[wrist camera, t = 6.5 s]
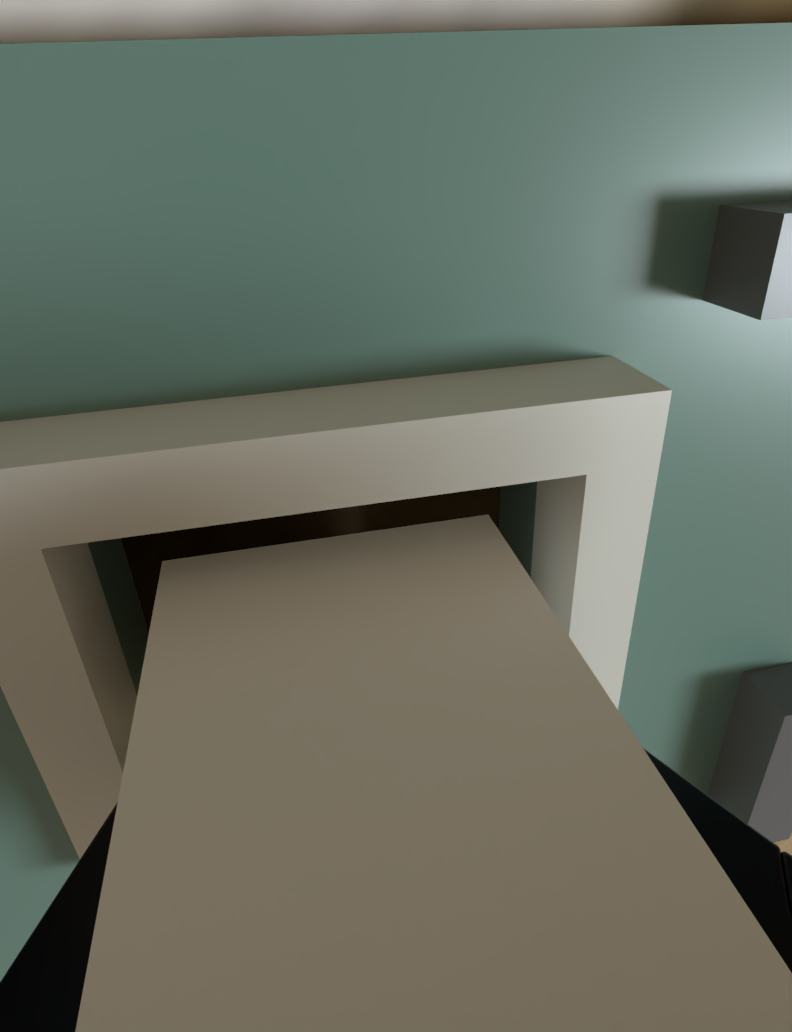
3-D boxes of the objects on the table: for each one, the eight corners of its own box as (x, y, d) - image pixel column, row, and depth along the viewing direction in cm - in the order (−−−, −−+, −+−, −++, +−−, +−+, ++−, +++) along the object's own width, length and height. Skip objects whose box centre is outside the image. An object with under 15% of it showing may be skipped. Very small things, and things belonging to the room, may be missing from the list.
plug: (488, 514, 9) (984, 1261, 3) (480, 774, 12) (736, 1449, 6) (162, 561, 9) (-35, 1628, 2) (232, 825, 12) (221, 1651, 5)
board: (1015, 30, 10) (1337, -16, 7) (764, 765, 18) (865, 886, 15) (-870, 89, 7) (-1759, 45, 4) (-141, 960, 14) (-237, 1167, 12)
